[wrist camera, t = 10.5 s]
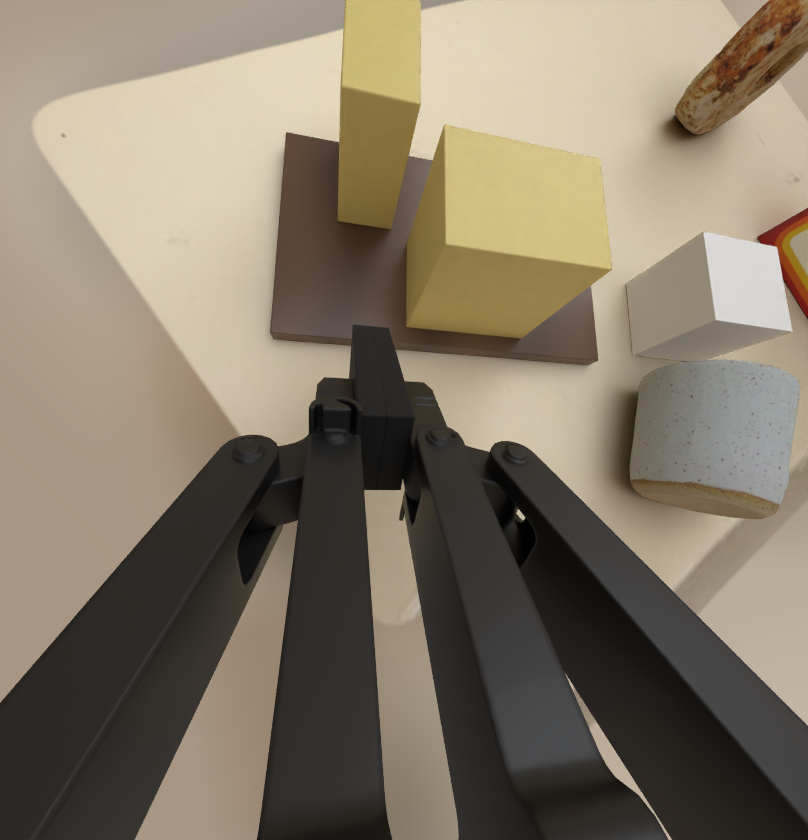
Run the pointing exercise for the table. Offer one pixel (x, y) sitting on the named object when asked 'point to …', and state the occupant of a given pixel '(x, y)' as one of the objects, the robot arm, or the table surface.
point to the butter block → (503, 235)
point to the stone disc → (746, 65)
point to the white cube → (708, 300)
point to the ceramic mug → (715, 437)
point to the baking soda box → (792, 254)
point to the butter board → (380, 271)
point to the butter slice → (377, 106)
